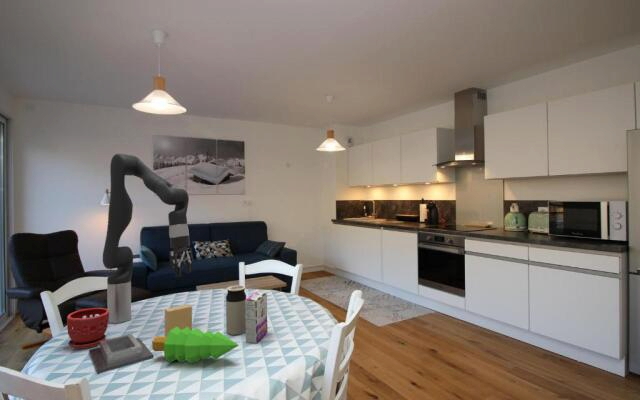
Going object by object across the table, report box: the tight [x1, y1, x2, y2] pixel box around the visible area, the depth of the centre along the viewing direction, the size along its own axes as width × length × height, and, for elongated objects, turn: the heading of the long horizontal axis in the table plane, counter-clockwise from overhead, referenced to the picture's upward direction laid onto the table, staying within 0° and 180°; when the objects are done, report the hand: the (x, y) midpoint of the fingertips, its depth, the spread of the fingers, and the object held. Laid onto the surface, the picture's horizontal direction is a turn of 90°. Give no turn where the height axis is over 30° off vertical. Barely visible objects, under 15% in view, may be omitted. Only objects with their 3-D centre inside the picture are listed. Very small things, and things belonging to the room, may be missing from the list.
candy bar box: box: [245, 291, 268, 344], centre depth 130 cm, size 11×5×16 cm, turn 168°
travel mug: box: [225, 285, 247, 336], centre depth 137 cm, size 8×8×18 cm
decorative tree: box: [152, 327, 240, 365], centre depth 111 cm, size 11×12×30 cm
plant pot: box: [66, 307, 109, 350], centre depth 126 cm, size 13×13×12 cm
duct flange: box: [88, 333, 154, 375], centre depth 116 cm, size 20×16×4 cm
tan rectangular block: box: [164, 304, 193, 337], centre depth 130 cm, size 4×9×12 cm, turn 131°
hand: (183, 274), depth 138 cm, fingers open, 8 cm apart
